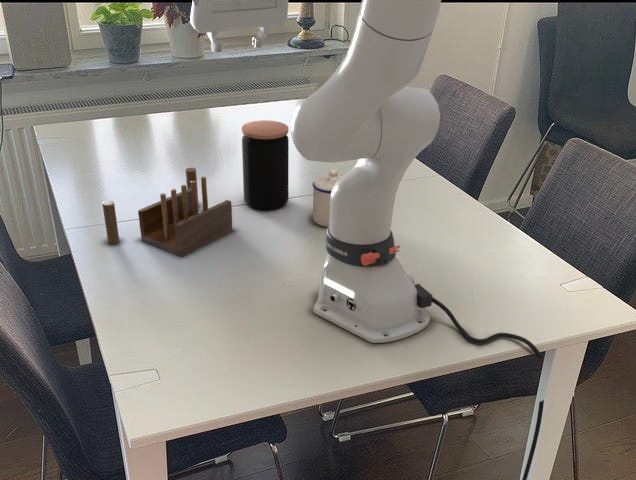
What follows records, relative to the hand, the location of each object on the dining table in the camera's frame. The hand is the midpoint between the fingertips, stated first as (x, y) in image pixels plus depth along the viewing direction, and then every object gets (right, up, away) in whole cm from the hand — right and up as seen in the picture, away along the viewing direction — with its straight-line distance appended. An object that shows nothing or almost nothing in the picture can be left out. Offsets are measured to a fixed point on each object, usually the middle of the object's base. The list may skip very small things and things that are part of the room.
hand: (236, 49), depth 156 cm
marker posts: (-20, -33, +15) cm, 41 cm away
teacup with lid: (+20, -31, +19) cm, 42 cm away
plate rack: (-12, -37, +10) cm, 40 cm away
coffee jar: (+5, -26, +25) cm, 37 cm away
